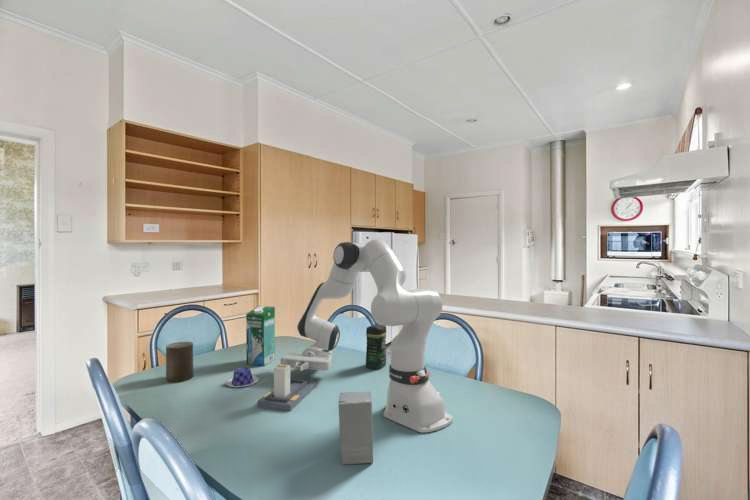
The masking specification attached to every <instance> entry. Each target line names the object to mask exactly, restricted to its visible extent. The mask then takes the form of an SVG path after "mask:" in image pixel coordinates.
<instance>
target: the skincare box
mask: <svg viewBox="0 0 750 500" xmlns="http://www.w3.org/2000/svg"><path fill="white" fill-rule="evenodd" d="M372 403H373V402H372V394H371V390H367V391H354V392H340V393H339V398H338V427H339V453H340V454H339V455H340V464H341V466H343V465H357V464H361V465H362V464H374V439H373V437H374V435H373V406H372V405H373V404H372Z"/></svg>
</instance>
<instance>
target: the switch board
mask: <svg viewBox="0 0 750 500" xmlns="http://www.w3.org/2000/svg"><path fill="white" fill-rule="evenodd" d="M315 388H316V381H310V380H305V379H296V378H290V394H289V395H288V396H286V397H285V398H277V397H274V388H273V389H271V390H270V391H268V392H267V393H265V394H264V395H263V396H262V397H261V398H259V399H258V400H257V402H256V403H257V404H256V405H257V408H264V409H272V410H279V411H287V412H292V410H293V409H294V408H295V407H297V405H298V404H300V402H302V401H303V400H304V399H305V398H306V397H307V396H308V395H309V394H310V393H311V392H312V391H313V390H314V389H315Z"/></svg>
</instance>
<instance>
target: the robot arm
mask: <svg viewBox="0 0 750 500" xmlns="http://www.w3.org/2000/svg"><path fill="white" fill-rule="evenodd" d="M361 272H362V273H370V274H371V277H372V279H373V281H374V283H375V285H376V288H377V293H376V295H375V296H374V297H373V299H372V301H371V305H370V314H371V316H372V319H373V320H374V322H375V324H376V323H377V324H379V325H385V326H386V327H396V326H397V327H398V326H402V327H401V329H400V331H399V332H398V334H396V336H394V337H393V339H392V340H391V342H390V364H389V367H388V373H389V374H388V376H389V378H390V380H389V384H388V387H387V392H386V405H385V410H384V411H383V417H384V418H386V419H388V420H391V421H393V422H395V423H398V424H399V425H402V426H404V427H406V428H409V429H411V430H413V431H415V432H418V433H424V434H425V433H431V432H435V431H439V430H441V429H443V428H446V427H448V426H450V424H451V423H453V420H454V418H453V415H451V414H450V413H449V412H447V411H446V409H445V408H446V407H445V402H444V398H443V397H442V395H441V393H440V392H439V391H437V390H436V388H435V386H434V385H433V384H432V382H430V380H429V379H430V378H429V377H431V376H432V375H431V374H432V373H431V372H428V370H427V367H426V365H425V359H426V356H425V355H426V342H427V338H428V335H429V332H430V329H431V328H432V325H433V324H434V322H435V321H436V319H437V318H438V317H440V315H441V314H442V311H443V301H442V300H443V299H442V297H441V295H440V294H439V293H438V292H437V291H436V290H432V289H427V288H417V289H416V288H415V289H405V288H403V285H404V284H405V282H406V279H407V272H406V270H405V268H404V266H403V265H402V262H401V261H400V260H399V258H398V257H397V255H396V254H395V251H393V249H392V248H391V246H389V244H387V242H385V241H384V240H382V239H380V238H374V239H371V240H369V241H367V242H366V244H365V243H361V242H350V241H345V242H344V241H343V242H340V243H339V244H338V245H337V246H336V247H335V248H334V251H333V264H332V267H331V270H330V272H329V276H328V278H327V279H326V281H325V282H321V283H320V284H319V285H318V286H317V288H316V289H315V291H314V292H313V294H312V296H311V298H310V301H309V303H308V305H307V307H306V309H305V311H304V313H303V314H302V316H301V317H300V320H299V322H298V323H297V326H296V327H297V328H296V329H297V331H298V334H299V335H300V336H301V337H304V338H307V339H309V340H312V341H315V342H314V343H313V344H312V345H310V346H308V347H306V348H305V349H304V350H303V351H302V352H301V353H297V352H296V353H294V352H293V353H287V354H285V355H283V356H281V357H280V363H279V364H283V365H290V369H292V368H293V370H294V371H297V372H299V371H300V372H303V371H304V370H313V371H325V372H326V371H329V370H330V369H331V368H332V367H333V352H334V349H336V347H337V345H338V344H339V341H340V336H341V331H340V328H339V326H338V325H337V324H335V323H333V322H330V321H328V320H326V319H323V318H321V317H318V316H317V314H316V313H317V312H318V310H319V307H320V306H321V304H322V301H323V300H327V299H328V300H329V299H332V300H336V299H338V300H339V299H344V298H346V297H348V296H349V295H350V294H351V293H352V291H353V290H354V287H355V283H356V280H357V278H358V277H357V275H358V274H359V273H361Z"/></svg>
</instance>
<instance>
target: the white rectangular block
mask: <svg viewBox="0 0 750 500" xmlns="http://www.w3.org/2000/svg"><path fill="white" fill-rule="evenodd" d="M290 379H291V368H290V365H283V364H281V363H279V364H277V365H276V366H275V367H273V389H274V397H277V398H285V397H286V396H288V395H289V394H290Z"/></svg>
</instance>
